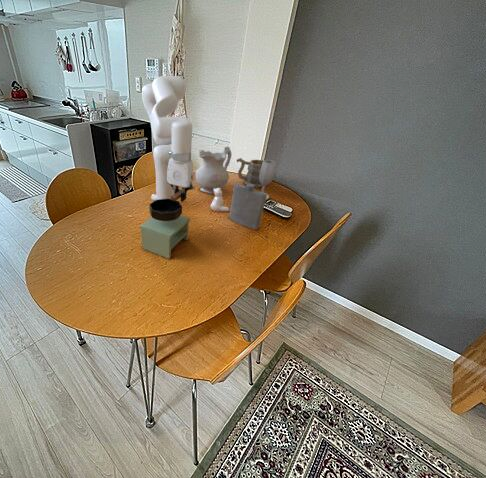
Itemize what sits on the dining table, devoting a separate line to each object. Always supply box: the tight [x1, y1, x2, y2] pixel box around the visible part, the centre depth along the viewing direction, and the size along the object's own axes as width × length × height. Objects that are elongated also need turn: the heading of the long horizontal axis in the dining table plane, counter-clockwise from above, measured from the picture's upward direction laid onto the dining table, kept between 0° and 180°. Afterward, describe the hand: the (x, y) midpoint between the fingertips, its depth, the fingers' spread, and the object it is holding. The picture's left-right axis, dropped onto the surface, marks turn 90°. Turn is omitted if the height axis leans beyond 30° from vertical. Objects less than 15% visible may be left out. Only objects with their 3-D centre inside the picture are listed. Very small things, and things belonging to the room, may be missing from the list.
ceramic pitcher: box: [195, 146, 232, 195], centre depth 151 cm, size 22×20×25 cm
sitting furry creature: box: [210, 188, 230, 213], centre depth 133 cm, size 10×9×12 cm
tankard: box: [235, 157, 264, 189], centre depth 163 cm, size 20×13×15 cm, turn 66°
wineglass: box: [259, 159, 276, 201], centre depth 143 cm, size 9×9×21 cm
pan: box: [148, 188, 188, 221], centre depth 103 cm, size 12×22×5 cm, turn 150°
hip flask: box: [228, 183, 268, 231], centre depth 119 cm, size 16×4×20 cm, turn 47°
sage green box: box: [139, 214, 191, 259], centre depth 107 cm, size 14×16×11 cm
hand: (180, 199), depth 109 cm, fingers closed on pan
